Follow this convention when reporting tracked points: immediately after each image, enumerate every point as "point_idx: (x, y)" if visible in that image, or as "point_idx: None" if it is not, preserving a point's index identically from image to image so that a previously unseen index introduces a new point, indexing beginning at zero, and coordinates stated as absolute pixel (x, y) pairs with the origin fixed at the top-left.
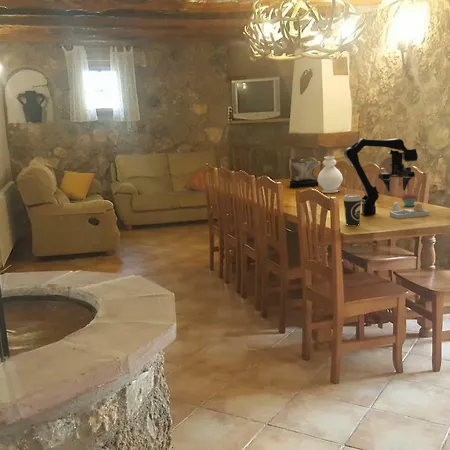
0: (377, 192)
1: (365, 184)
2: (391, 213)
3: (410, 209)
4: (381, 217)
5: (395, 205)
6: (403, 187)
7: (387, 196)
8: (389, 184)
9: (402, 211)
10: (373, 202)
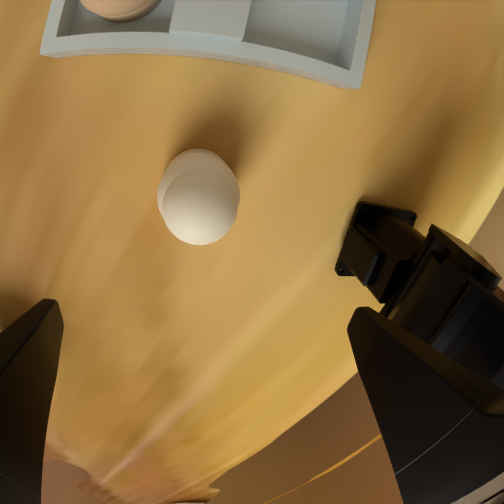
0: (480, 290)
1: None
2: (363, 58)
3: (180, 3)
4: (385, 116)
5: (229, 185)
6: (51, 360)
7: (74, 462)
8: (449, 382)
9: (246, 43)
10: (446, 234)
